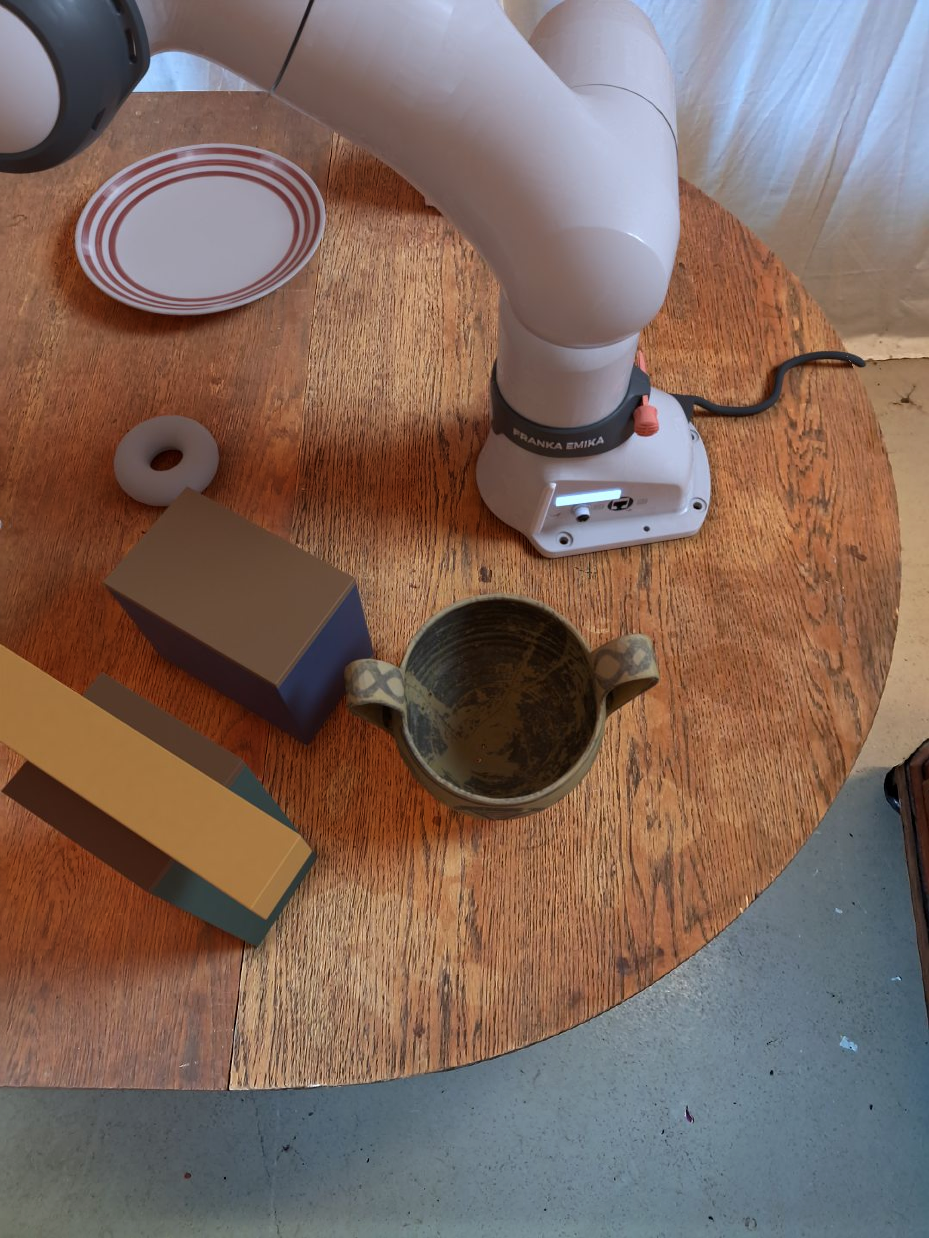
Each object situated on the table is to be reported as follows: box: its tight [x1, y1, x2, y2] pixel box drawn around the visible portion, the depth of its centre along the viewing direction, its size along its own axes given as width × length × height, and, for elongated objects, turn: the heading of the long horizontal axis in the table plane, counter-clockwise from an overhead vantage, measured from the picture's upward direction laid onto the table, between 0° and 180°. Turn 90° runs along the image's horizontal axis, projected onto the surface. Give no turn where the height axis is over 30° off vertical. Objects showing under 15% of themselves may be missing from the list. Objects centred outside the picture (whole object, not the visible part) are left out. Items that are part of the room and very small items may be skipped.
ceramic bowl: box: [344, 592, 661, 822], centre depth 69 cm, size 22×17×15 cm
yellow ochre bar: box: [0, 643, 312, 920], centre depth 47 cm, size 26×4×4 cm, turn 59°
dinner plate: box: [74, 142, 326, 316], centre depth 100 cm, size 27×27×3 cm
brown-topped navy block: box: [102, 487, 375, 747], centre depth 73 cm, size 16×10×14 cm, turn 59°
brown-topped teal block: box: [0, 671, 319, 948], centre depth 59 cm, size 10×8×26 cm
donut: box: [112, 414, 220, 507], centre depth 86 cm, size 10×4×10 cm
